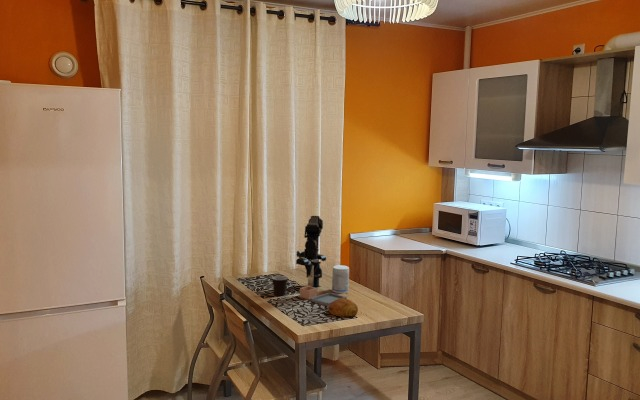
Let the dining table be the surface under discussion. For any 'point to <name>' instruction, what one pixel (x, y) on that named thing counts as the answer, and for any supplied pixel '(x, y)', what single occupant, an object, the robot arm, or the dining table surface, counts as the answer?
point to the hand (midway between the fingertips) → (310, 275)
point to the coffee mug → (279, 285)
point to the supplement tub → (340, 279)
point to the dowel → (311, 277)
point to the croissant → (343, 307)
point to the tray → (326, 298)
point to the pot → (308, 292)
